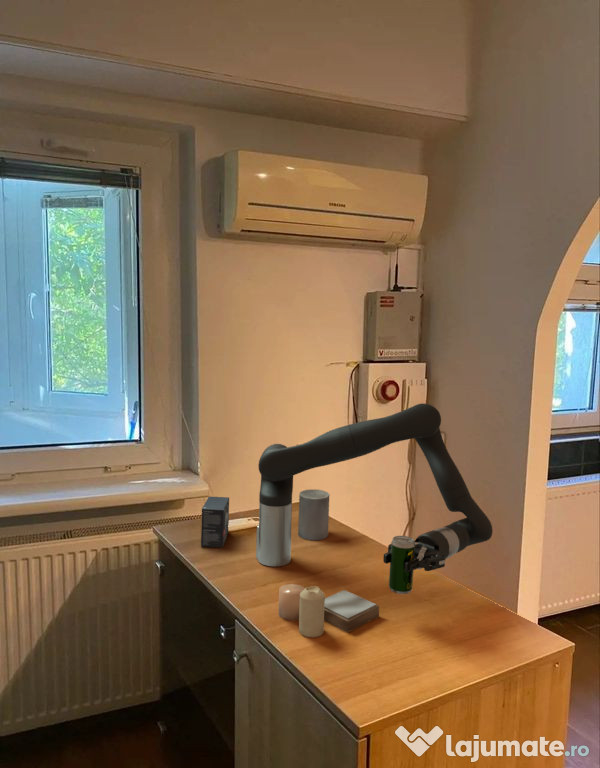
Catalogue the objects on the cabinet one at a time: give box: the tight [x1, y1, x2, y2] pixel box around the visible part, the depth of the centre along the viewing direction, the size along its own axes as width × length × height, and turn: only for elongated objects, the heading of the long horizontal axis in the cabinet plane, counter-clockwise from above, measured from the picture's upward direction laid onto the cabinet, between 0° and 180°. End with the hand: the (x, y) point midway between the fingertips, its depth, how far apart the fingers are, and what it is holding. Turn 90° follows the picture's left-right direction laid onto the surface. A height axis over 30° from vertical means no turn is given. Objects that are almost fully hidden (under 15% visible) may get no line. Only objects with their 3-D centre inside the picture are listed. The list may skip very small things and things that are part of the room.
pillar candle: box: [297, 488, 331, 541], centre depth 195 cm, size 10×10×15 cm
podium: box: [324, 589, 380, 633], centre depth 143 cm, size 11×11×3 cm
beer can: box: [388, 535, 415, 595], centre depth 141 cm, size 5×5×12 cm
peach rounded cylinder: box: [278, 583, 305, 621], centre depth 143 cm, size 6×6×6 cm
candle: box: [298, 585, 326, 638], centre depth 135 cm, size 6×6×10 cm
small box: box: [200, 496, 230, 548], centre depth 189 cm, size 13×7×12 cm, turn 179°
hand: (395, 563), depth 139 cm, fingers closed on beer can, 5 cm apart
